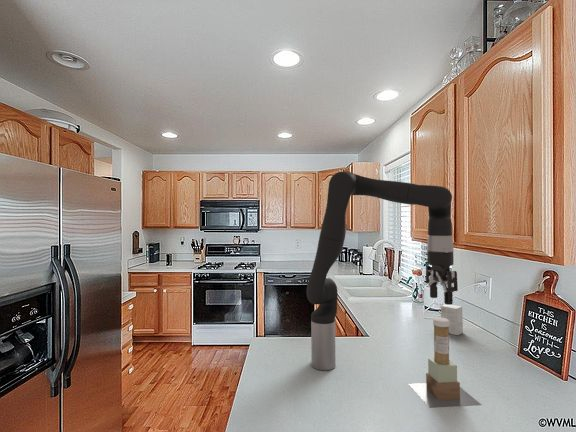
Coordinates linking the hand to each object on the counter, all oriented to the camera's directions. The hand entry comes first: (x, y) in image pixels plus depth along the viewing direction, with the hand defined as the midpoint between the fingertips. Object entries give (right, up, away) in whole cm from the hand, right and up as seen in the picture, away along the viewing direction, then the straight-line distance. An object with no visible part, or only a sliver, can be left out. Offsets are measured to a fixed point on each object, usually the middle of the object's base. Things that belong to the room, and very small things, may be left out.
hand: (440, 300), depth 103 cm
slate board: (0, -30, -1) cm, 30 cm away
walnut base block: (0, -29, -1) cm, 29 cm away
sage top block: (0, -24, -1) cm, 24 cm away
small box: (+33, -31, +59) cm, 75 cm away
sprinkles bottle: (0, -19, -1) cm, 19 cm away
